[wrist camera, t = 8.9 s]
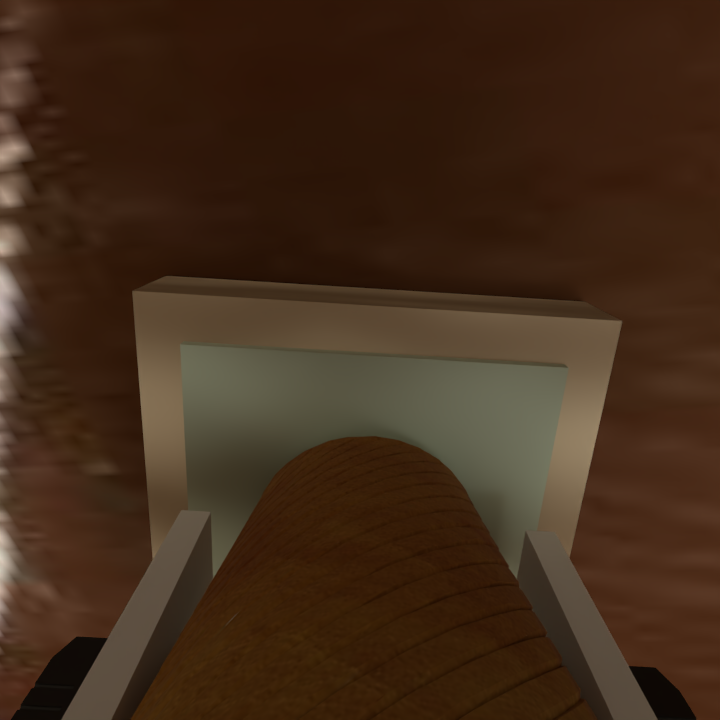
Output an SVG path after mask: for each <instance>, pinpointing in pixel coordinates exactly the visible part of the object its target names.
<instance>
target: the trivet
mask: <svg viewBox="0 0 720 720" xmlns="http://www.w3.org/2000/svg"><path fill="white" fill-rule="evenodd" d="M132 295H133V308H134V321H135V334H136V347H137V361H138V374H139V387H140V400H141V413H142V426H143V439H144V452H145V465H146V478H147V492H148V505H149V518H150V531H151V544H152V557H153V559H154V557H155V555H156V553H157V552H158V550H159V548H160V546H161V545H162V543H163V541H164V539H165V538H166V536H167V534H168V532H169V531H170V529H171V527H172V525H173V524H174V522H175V520H176V518H177V517H178V515H179V513H180V511H181V510H188V511H205V512H211V533H212V563H213V578H214V576H215V575H216V573H217V571H218V570H219V568H220V566H221V565H222V563H223V561H224V560H225V558H226V556H227V555H228V553H229V551H230V549H231V548H232V546H233V544H234V543H235V541H236V539H237V537H238V536H239V534H240V532H241V531H242V529H243V527H244V526H245V524H246V522H247V521H248V519H249V517H250V515H251V513H252V512H253V510H254V508H255V507H256V505H257V503H258V502H259V500H260V498H261V496H262V494H263V492H264V490H265V489H266V487H267V486H268V484H269V483H270V481H271V480H272V478H273V477H274V475H275V474H276V473H277V472H278V471H279V470H280V469H281V468H282V467H283V466H284V465H286V464H287V463H288V462H289V461H291V460H292V459H294V458H295V457H297V456H298V455H300V454H301V453H302V452H304V451H306V450H308V449H310V448H313V447H315V446H318V445H320V444H322V443H325V442H327V441H330V440H335V439H340V438H345V437H363V436H378V437H384V438H390V439H395V440H400V441H402V442H405V443H408V444H411V445H413V446H416V447H419V448H421V449H422V450H424V451H426V452H427V453H429V454H431V455H432V456H434V457H436V458H437V459H439V460H440V461H441V462H442V463H443V464H444V465H446V466H447V467H448V468H449V469H450V470H451V471H452V472H453V474H454V475H455V476H456V477H457V479H458V480H459V481H460V483H461V484H462V485H463V487H464V488H465V489H466V491H467V493H468V496H469V498H470V499H471V501H472V503H473V505H474V507H475V509H476V510H477V512H478V514H479V515H480V517H481V518H482V522H483V523H484V524H485V526H486V527H487V529H488V530H489V532H490V536H491V537H492V538H493V540H494V542H495V543H496V545H497V546H498V548H499V552H500V553H501V554H502V556H503V557H504V559H505V560H506V562H507V563H508V565H509V569H510V570H511V572H512V573H513V574H514V576H515V577H516V579H517V574H518V569H519V563H520V558H521V553H522V548H523V542H524V537H525V532H526V530H530V531H547V532H555V533H556V535H557V537H558V538H559V540H560V542H561V544H562V546H563V548H564V549H565V551H566V553H567V555H568V557H570V553H571V548H572V544H573V539H574V535H575V531H576V526H577V522H578V517H579V513H580V508H581V504H582V499H583V495H584V490H585V486H586V481H587V477H588V472H589V468H590V463H591V459H592V454H593V450H594V445H595V441H596V437H597V432H598V428H599V423H600V419H601V414H602V410H603V405H604V401H605V396H606V392H607V387H608V383H609V378H610V374H611V369H612V365H613V360H614V356H615V351H616V347H617V343H618V338H619V334H620V329H621V325H622V321H621V320H619V319H617V318H615V317H614V316H612V315H610V314H608V313H606V312H604V311H602V310H600V309H598V308H596V307H594V306H592V305H590V304H588V303H586V302H583V301H567V300H550V299H534V298H518V297H502V296H486V295H469V294H453V293H437V292H421V291H405V290H389V289H372V288H356V287H340V286H324V285H308V284H292V283H275V282H259V281H243V280H227V279H211V278H195V277H178V276H165V277H162V278H160V279H158V280H156V281H153V282H151V283H149V284H147V285H144V286H142V287H140V288H138V289H135V290H133V291H132Z"/></svg>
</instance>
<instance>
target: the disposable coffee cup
mask: <svg viewBox="0 0 720 720" xmlns="http://www.w3.org/2000/svg"><path fill="white" fill-rule="evenodd" d="M532 609H533V606H532V605H531V603H530V602H529V600H528V599H527V597H526V596H525V594H524V592H523V591H522V590H521V589H520V588H519V582H518V580H517V579H516V577H515V576H514V574H513V573H512V572H511V570H510V569H509V565H508V563H507V562H506V560H505V559H504V557H503V556H502V554H501V553H500V552H499V548H498V546H497V545H496V543H495V542H494V540H493V538H492V537H491V536H490V532H489V530H488V529H487V527H486V526H485V524H484V523H483V522H482V518H481V517H480V515H479V514H478V512H477V510H476V509H475V507H474V505H473V503H472V501H471V499H470V498H469V496H468V493H467V491H466V489H465V488H464V487H463V485H462V484H461V483H460V481H459V480H458V479H457V477H456V476H455V475H454V474H453V472H452V471H451V470H450V469H449V468H448V467H447V466H446V465H444V464H443V463H442V462H441V461H440V460H439V459H437V458H436V457H434V456H432V455H431V454H429V453H427V452H426V451H424V450H422V449H421V448H419V447H416V446H413V445H411V444H408V443H405V442H402V441H400V440H395V439H390V438H384V437H378V436H363V437H345V438H340V439H335V440H330V441H327V442H325V443H322V444H320V445H318V446H315V447H313V448H310V449H308V450H306V451H304V452H302V453H301V454H300V455H298V456H297V457H295V458H294V459H292V460H291V461H289V462H288V463H287V464H286V465H284V466H283V467H282V468H281V469H280V470H279V471H278V472H277V473H276V474H275V475H274V477H273V478H272V480H271V481H270V483H269V484H268V486H267V487H266V489H265V490H264V492H263V494H262V496H261V498H260V500H259V502H258V503H257V505H256V507H255V508H254V510H253V512H252V513H251V515H250V517H249V519H248V521H247V522H246V524H245V526H244V527H243V529H242V531H241V532H240V534H239V536H238V537H237V539H236V541H235V543H234V544H233V546H232V548H231V549H230V551H229V553H228V555H227V556H226V558H225V560H224V561H223V563H222V565H221V566H220V568H219V570H218V571H217V573H216V575H215V576H214V578H213V580H212V581H211V583H210V584H209V586H208V588H207V589H206V591H205V593H204V595H203V597H202V598H201V600H200V602H199V603H198V605H197V607H196V608H195V610H194V612H193V614H192V616H191V617H190V619H189V621H188V622H187V624H186V625H185V627H184V629H183V630H182V632H181V634H180V636H179V638H178V640H177V641H176V643H175V645H174V646H173V648H172V649H171V651H170V653H169V654H168V656H167V658H166V659H165V661H164V663H163V664H162V666H161V668H160V671H159V672H158V674H157V676H156V677H155V679H154V681H153V682H152V684H151V686H150V687H149V689H148V691H147V693H146V694H145V696H144V698H143V699H142V701H141V703H140V704H139V706H138V707H137V709H136V711H135V712H134V714H133V716H132V717H131V719H130V720H598V719H597V717H596V716H595V714H594V713H593V711H592V709H591V708H590V706H589V704H588V703H587V701H586V700H585V699H582V698H580V693H581V689H580V687H579V686H578V684H577V683H576V681H575V680H574V678H573V677H572V675H571V674H570V672H569V671H568V669H567V667H566V666H561V665H562V656H561V655H560V653H559V652H558V650H557V648H556V647H555V645H554V644H553V642H552V641H551V639H550V638H548V637H546V635H547V633H548V632H547V631H546V629H545V628H544V626H543V625H542V623H541V621H540V620H539V618H538V617H537V615H536V614H535V612H533V611H532Z"/></svg>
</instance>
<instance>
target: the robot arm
mask: <svg viewBox="0 0 720 720" xmlns="http://www.w3.org/2000/svg"><path fill="white" fill-rule="evenodd" d="M212 580H213V563H212V533H211V512H205V511H188V510H181V511H180V513H179V515H178V517H177V518H176V520H175V522H174V524H173V525H172V527H171V529H170V531H169V532H168V534H167V536H166V538H165V539H164V541H163V543H162V545H161V546H160V548H159V550H158V552H157V553H156V555H155V557H154V559H153V560H152V562H151V564H150V566H149V567H148V569H147V571H146V573H145V574H144V576H143V578H142V580H141V581H140V583H139V585H138V587H137V588H136V590H135V592H134V594H133V595H132V597H131V599H130V601H129V602H128V604H127V606H126V608H125V609H124V611H123V613H122V615H121V616H120V618H119V620H118V621H117V623H116V625H115V627H114V628H113V630H112V632H111V634H110V635H109V637H108V638H93V637H76V638H75V639H74V640H72V641H71V642H70V643H69V644H68V645H67V646H65V647H64V648H63V649H62V650H61V651H60V652H58V653H57V654H56V655H55V656H54V657H53V658H52V659H51V660H50V662H49V663H48V665H47V666H46V668H45V669H44V671H43V672H42V674H41V675H40V677H39V678H38V680H37V681H36V683H35V687H34V688H32V689H31V690H30V692H29V693H28V695H27V696H26V698H25V699H24V701H23V702H22V704H21V708H20V710H17V711H16V713H15V714H14V716H13V717H12V719H11V720H130V719H131V717H132V716H133V714H134V712H135V711H136V709H137V707H138V706H139V704H140V703H141V701H142V699H143V698H144V696H145V694H146V693H147V691H148V689H149V687H150V686H151V684H152V682H153V681H154V679H155V677H156V676H157V674H158V672H159V671H160V668H161V666H162V664H163V663H164V661H165V659H166V658H167V656H168V654H169V653H170V651H171V649H172V648H173V646H174V645H175V643H176V641H177V640H178V638H179V636H180V634H181V632H182V630H183V629H184V627H185V625H186V624H187V622H188V621H189V619H190V617H191V616H192V614H193V612H194V610H195V608H196V607H197V605H198V603H199V602H200V600H201V598H202V597H203V595H204V593H205V591H206V589H207V588H208V586H209V584H210V583H211V581H212ZM517 580H518V582H519V588H520V589H521V590H522V591H523V592H524V594H525V596H526V597H527V599H528V600H529V602H530V603H531V605H532V606H533V609H532V611H533V612H535V614H536V615H537V617H538V618H539V620H540V621H541V623H542V625H543V626H544V628H545V629H546V631H547V632H548V633H547V635H546V637H548V638H550V639H551V641H552V642H553V644H554V645H555V647H556V648H557V650H558V652H559V653H560V655H561V656H562V665H561V666H566V667H567V669H568V671H569V672H570V674H571V675H572V677H573V678H574V680H575V681H576V683H577V684H578V686H579V687H580V689H581V693H580V698H582V699H585V700H586V701H587V703H588V704H589V706H590V708H591V709H592V711H593V713H594V714H595V716H596V717H597V719H598V720H696V717H695V715H694V714H693V712H692V710H691V709H690V707H689V706H688V704H687V702H686V701H685V699H684V698H683V696H682V694H681V693H680V691H679V690H678V689H677V688H676V687H675V686H674V685H673V684H672V683H671V682H670V681H669V680H667V679H666V678H665V677H664V676H663V675H662V674H661V673H660V672H659V671H658V670H657V669H656V668H652V667H634V666H628V665H627V663H626V661H625V659H624V657H623V655H622V654H621V652H620V650H619V648H618V646H617V644H616V643H615V641H614V639H613V637H612V635H611V634H610V632H609V630H608V628H607V626H606V624H605V623H604V621H603V619H602V617H601V615H600V613H599V612H598V610H597V608H596V606H595V604H594V602H593V601H592V599H591V597H590V595H589V593H588V591H587V590H586V588H585V586H584V584H583V582H582V581H581V579H580V577H579V575H578V573H577V571H576V570H575V568H574V566H573V564H572V562H571V560H570V559H569V557H568V555H567V553H566V551H565V549H564V548H563V546H562V544H561V542H560V540H559V538H558V537H557V535H556V533H555V532H547V531H530V530H526V532H525V537H524V542H523V548H522V553H521V558H520V563H519V569H518V574H517Z"/></svg>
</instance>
